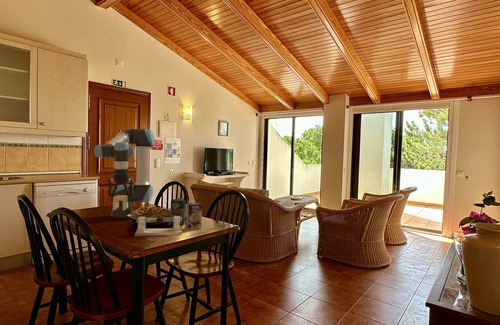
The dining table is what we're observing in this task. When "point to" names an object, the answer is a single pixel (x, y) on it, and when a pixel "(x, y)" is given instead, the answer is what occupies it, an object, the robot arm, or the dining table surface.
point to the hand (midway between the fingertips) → (120, 207)
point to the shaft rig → (157, 232)
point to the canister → (177, 209)
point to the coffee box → (193, 216)
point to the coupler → (116, 201)
